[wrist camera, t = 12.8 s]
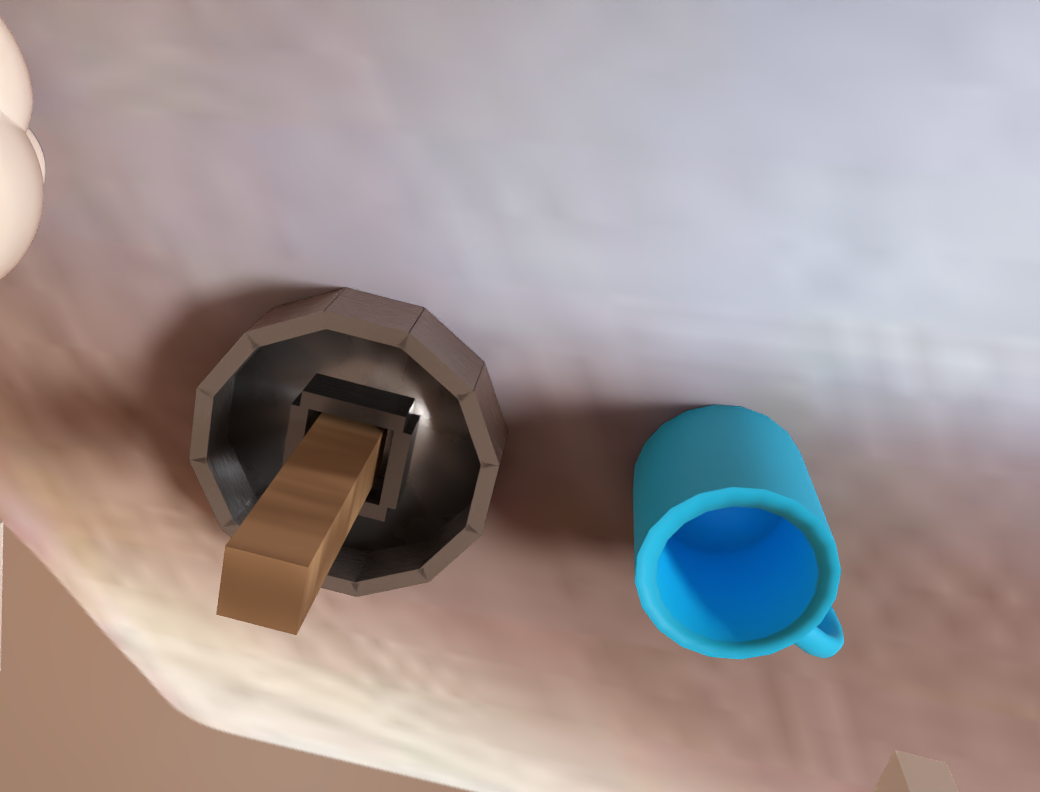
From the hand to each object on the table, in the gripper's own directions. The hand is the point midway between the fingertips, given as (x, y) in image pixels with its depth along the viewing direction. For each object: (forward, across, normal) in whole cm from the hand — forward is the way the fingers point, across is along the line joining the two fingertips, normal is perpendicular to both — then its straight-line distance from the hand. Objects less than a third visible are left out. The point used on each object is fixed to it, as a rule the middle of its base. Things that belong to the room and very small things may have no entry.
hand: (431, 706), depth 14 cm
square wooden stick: (+30, -7, -12) cm, 33 cm away
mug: (+31, +12, -11) cm, 35 cm away
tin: (+31, -7, -12) cm, 34 cm away
